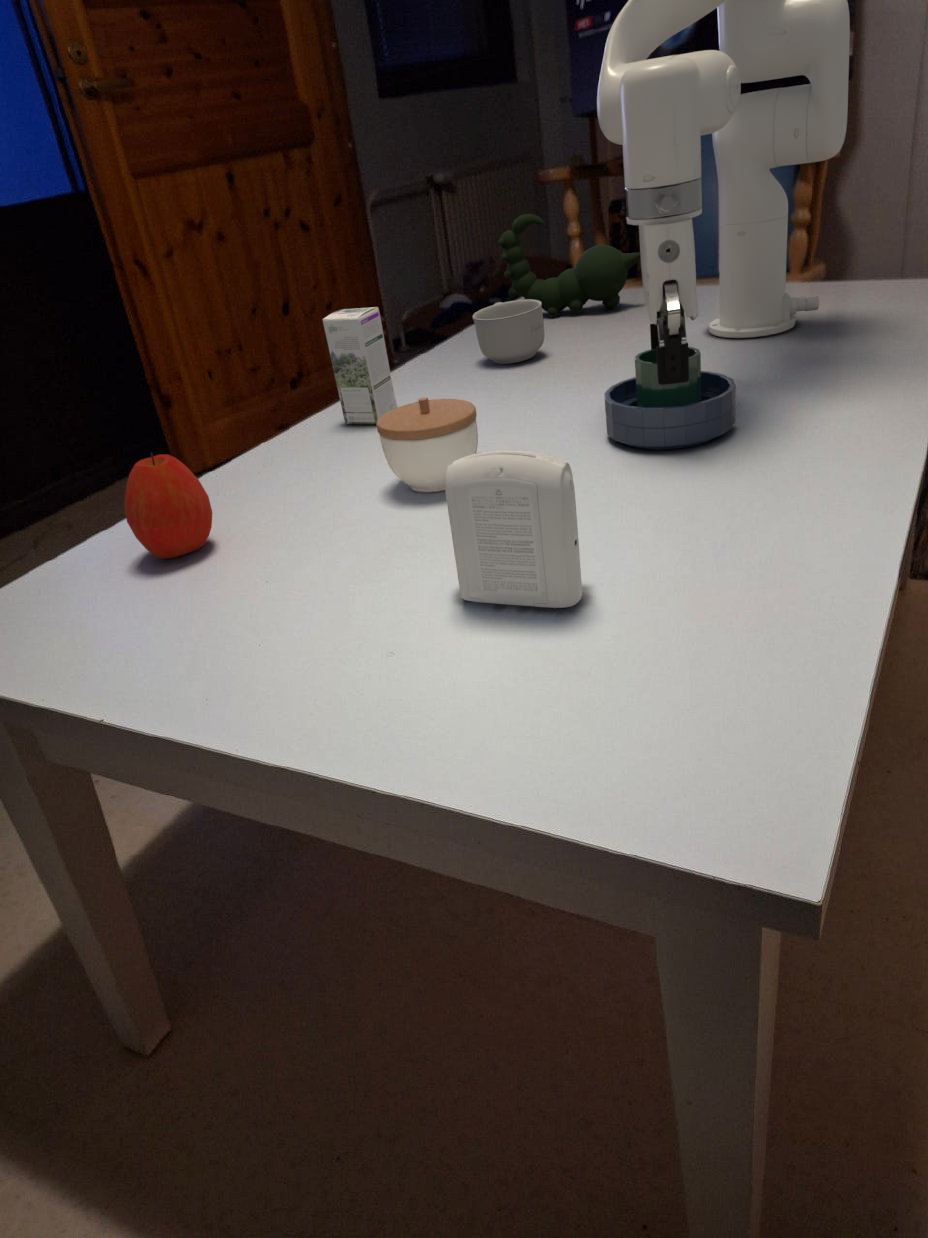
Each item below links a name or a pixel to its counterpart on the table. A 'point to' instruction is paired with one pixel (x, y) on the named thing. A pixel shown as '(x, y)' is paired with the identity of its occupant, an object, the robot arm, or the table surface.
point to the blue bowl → (671, 415)
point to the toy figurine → (566, 274)
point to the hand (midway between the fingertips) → (669, 369)
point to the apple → (167, 507)
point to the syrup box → (360, 364)
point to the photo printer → (514, 529)
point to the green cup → (669, 394)
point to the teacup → (510, 330)
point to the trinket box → (427, 440)
